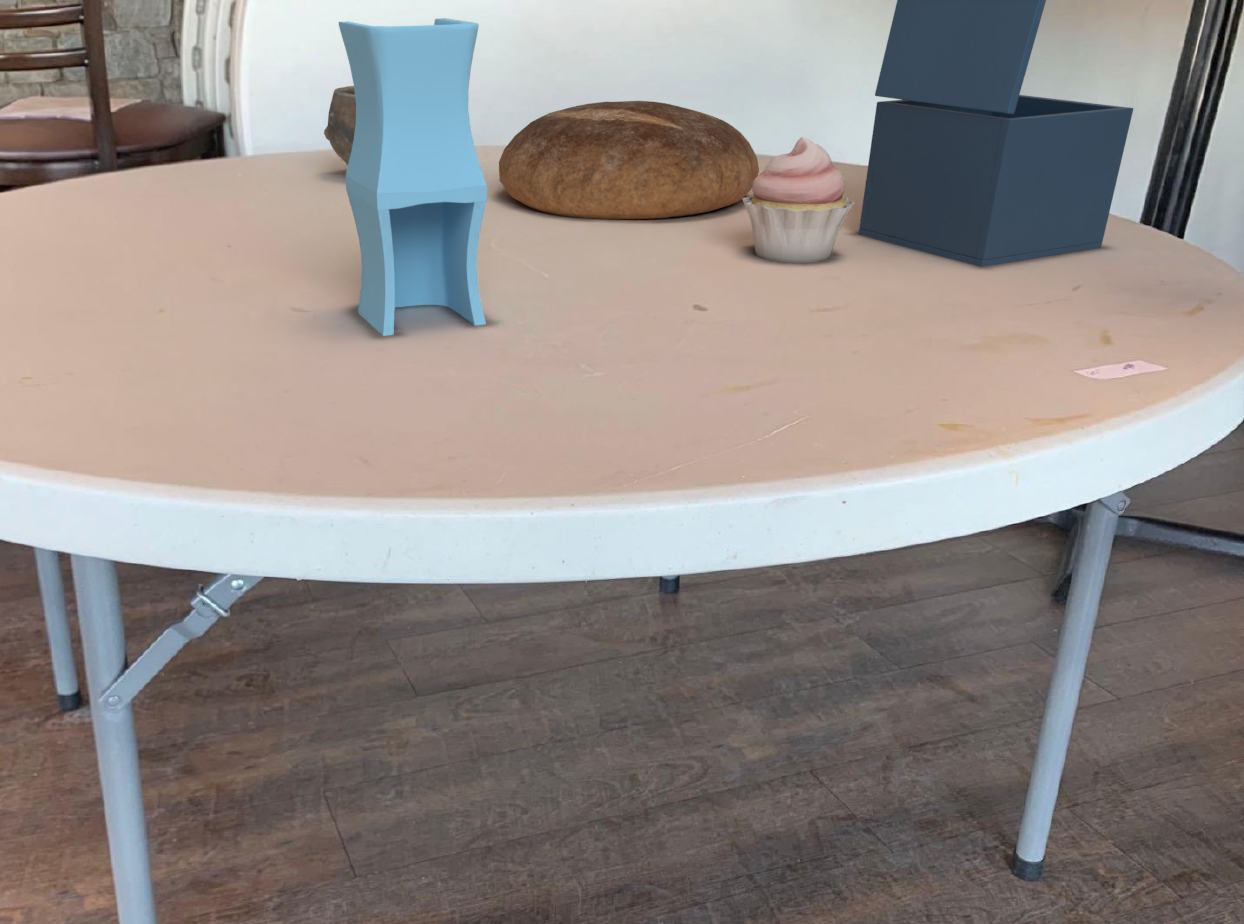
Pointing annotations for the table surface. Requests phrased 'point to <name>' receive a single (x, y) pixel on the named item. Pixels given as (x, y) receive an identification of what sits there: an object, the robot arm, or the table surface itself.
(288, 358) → the table surface
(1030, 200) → the chest
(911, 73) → the lid
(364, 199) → the blue wavy hollow column
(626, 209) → the bread
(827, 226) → the cupcake
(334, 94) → the bowl
